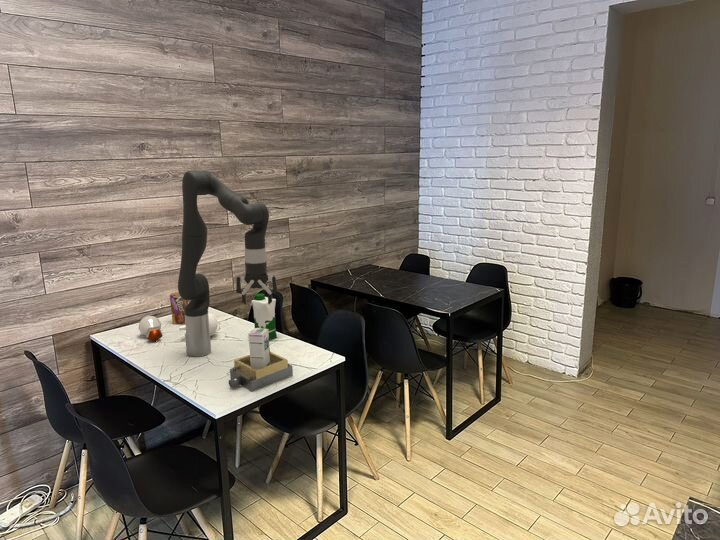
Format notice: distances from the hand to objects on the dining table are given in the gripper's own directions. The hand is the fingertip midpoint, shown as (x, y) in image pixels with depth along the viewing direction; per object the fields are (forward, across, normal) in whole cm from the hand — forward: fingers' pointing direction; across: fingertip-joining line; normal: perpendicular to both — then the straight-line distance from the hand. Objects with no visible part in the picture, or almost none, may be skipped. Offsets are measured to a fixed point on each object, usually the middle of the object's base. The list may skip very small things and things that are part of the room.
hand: (257, 303), depth 181 cm
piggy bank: (+29, -31, +43) cm, 61 cm away
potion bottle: (+29, -52, +43) cm, 74 cm away
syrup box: (+24, 0, -2) cm, 24 cm away
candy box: (+29, -44, +62) cm, 81 cm away
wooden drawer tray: (+28, -1, -3) cm, 28 cm away
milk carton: (+29, -2, +38) cm, 48 cm away
